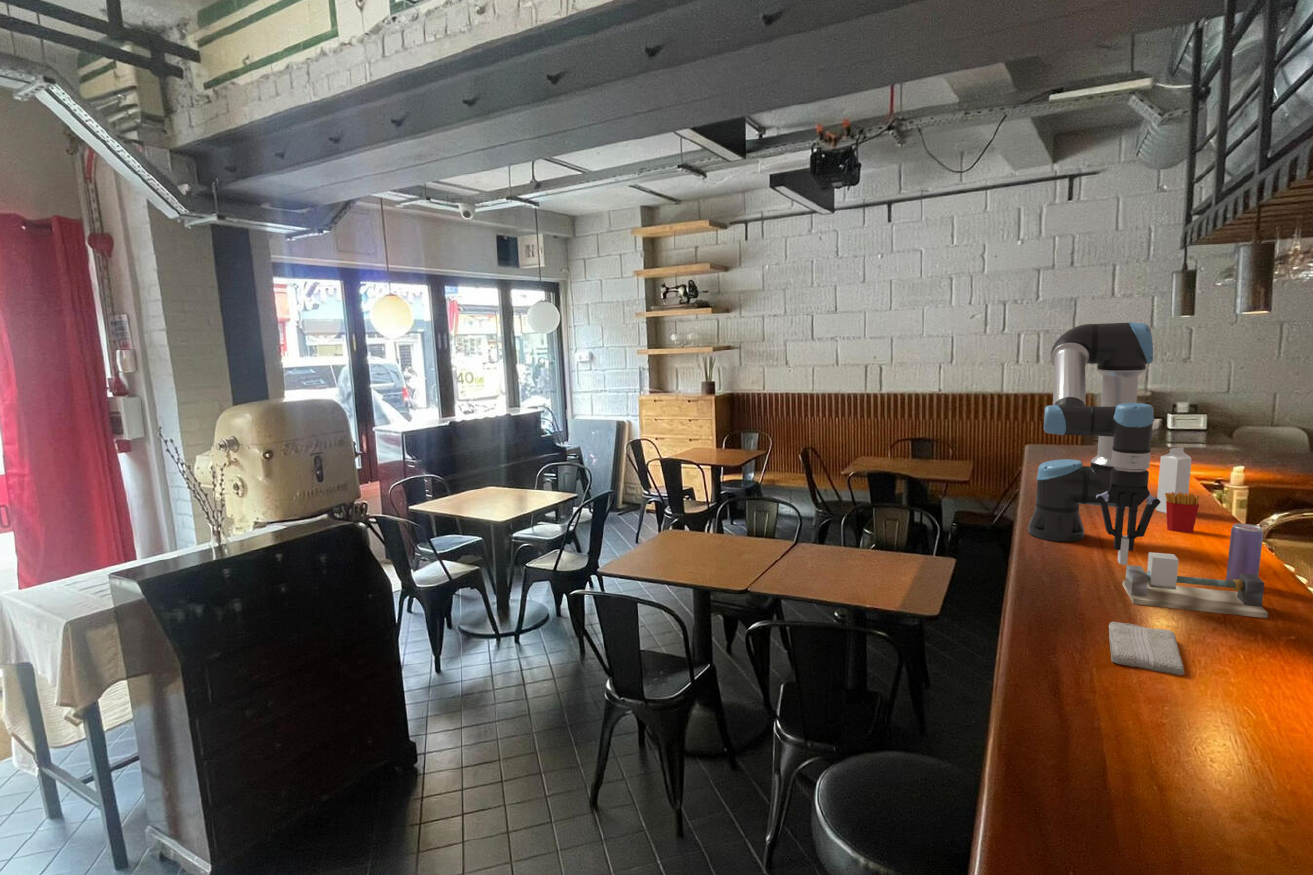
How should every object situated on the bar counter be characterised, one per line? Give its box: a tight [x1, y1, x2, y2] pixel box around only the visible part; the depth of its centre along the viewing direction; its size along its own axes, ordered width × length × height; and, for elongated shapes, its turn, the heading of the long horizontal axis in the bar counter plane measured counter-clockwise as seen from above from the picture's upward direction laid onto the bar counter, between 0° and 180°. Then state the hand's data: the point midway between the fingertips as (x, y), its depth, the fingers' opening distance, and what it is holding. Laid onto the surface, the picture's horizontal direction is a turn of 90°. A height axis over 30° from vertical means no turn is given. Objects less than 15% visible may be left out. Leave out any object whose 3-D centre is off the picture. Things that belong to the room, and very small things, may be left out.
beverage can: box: [1225, 523, 1264, 581], centre depth 169 cm, size 6×6×15 cm
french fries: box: [1165, 492, 1200, 533], centre depth 211 cm, size 8×4×12 cm, turn 57°
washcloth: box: [1108, 621, 1185, 676], centre depth 140 cm, size 12×18×3 cm, turn 150°
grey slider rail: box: [1122, 564, 1269, 619], centre depth 162 cm, size 25×12×7 cm, turn 66°
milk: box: [1155, 446, 1192, 514], centre depth 229 cm, size 6×6×22 cm
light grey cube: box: [1146, 551, 1180, 590], centre depth 164 cm, size 5×4×7 cm
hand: (1122, 562), depth 167 cm, fingers closed
